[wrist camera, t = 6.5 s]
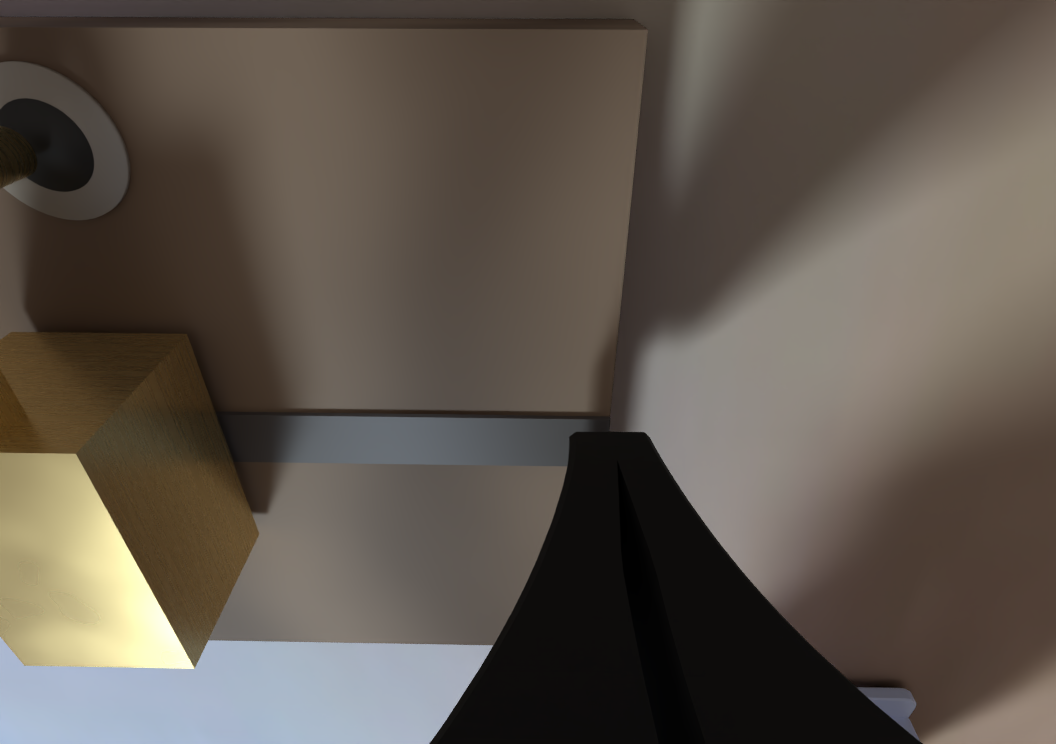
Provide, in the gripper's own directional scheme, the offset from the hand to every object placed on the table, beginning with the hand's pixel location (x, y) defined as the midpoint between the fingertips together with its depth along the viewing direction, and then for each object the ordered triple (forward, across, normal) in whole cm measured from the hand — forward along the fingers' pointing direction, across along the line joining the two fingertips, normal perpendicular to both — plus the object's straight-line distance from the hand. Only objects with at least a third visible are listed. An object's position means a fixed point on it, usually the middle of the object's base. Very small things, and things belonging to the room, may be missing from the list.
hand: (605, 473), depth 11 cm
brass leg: (+1, +9, -2) cm, 9 cm away
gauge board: (+2, +9, 0) cm, 9 cm away
